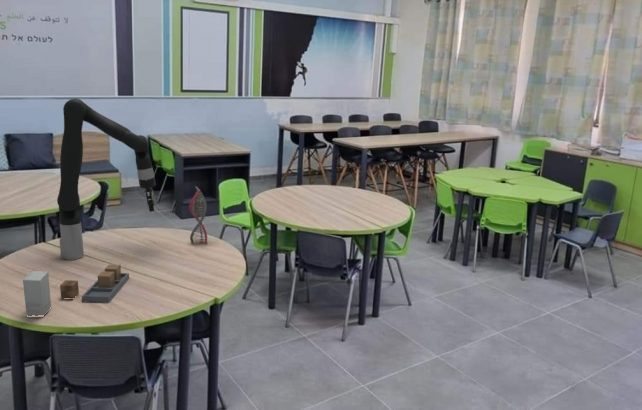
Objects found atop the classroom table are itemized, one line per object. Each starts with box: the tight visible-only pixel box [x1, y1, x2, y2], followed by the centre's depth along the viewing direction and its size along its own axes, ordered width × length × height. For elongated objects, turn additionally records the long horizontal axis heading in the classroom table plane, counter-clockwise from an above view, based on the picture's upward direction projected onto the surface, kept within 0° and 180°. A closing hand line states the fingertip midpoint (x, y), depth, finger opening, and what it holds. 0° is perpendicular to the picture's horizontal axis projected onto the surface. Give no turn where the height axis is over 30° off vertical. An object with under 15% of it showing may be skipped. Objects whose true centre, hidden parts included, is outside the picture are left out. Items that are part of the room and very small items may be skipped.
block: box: [59, 279, 80, 299], centre depth 223 cm, size 5×5×6 cm
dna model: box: [188, 186, 208, 245], centre depth 285 cm, size 9×9×30 cm
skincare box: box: [22, 270, 52, 316], centre depth 207 cm, size 8×7×16 cm
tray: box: [81, 263, 130, 303], centre depth 230 cm, size 11×24×7 cm, turn 0°
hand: (151, 208), depth 271 cm, fingers open, 8 cm apart
